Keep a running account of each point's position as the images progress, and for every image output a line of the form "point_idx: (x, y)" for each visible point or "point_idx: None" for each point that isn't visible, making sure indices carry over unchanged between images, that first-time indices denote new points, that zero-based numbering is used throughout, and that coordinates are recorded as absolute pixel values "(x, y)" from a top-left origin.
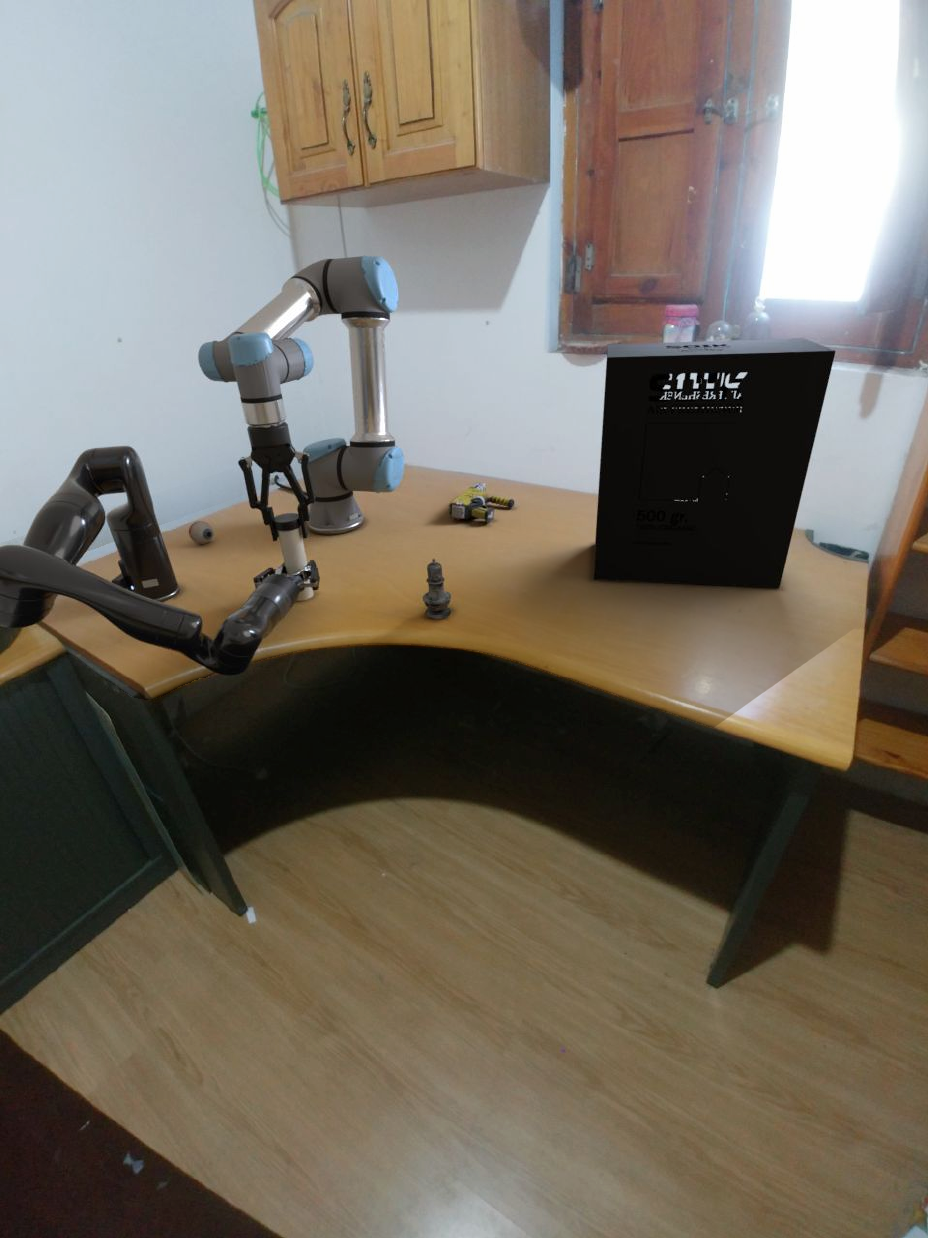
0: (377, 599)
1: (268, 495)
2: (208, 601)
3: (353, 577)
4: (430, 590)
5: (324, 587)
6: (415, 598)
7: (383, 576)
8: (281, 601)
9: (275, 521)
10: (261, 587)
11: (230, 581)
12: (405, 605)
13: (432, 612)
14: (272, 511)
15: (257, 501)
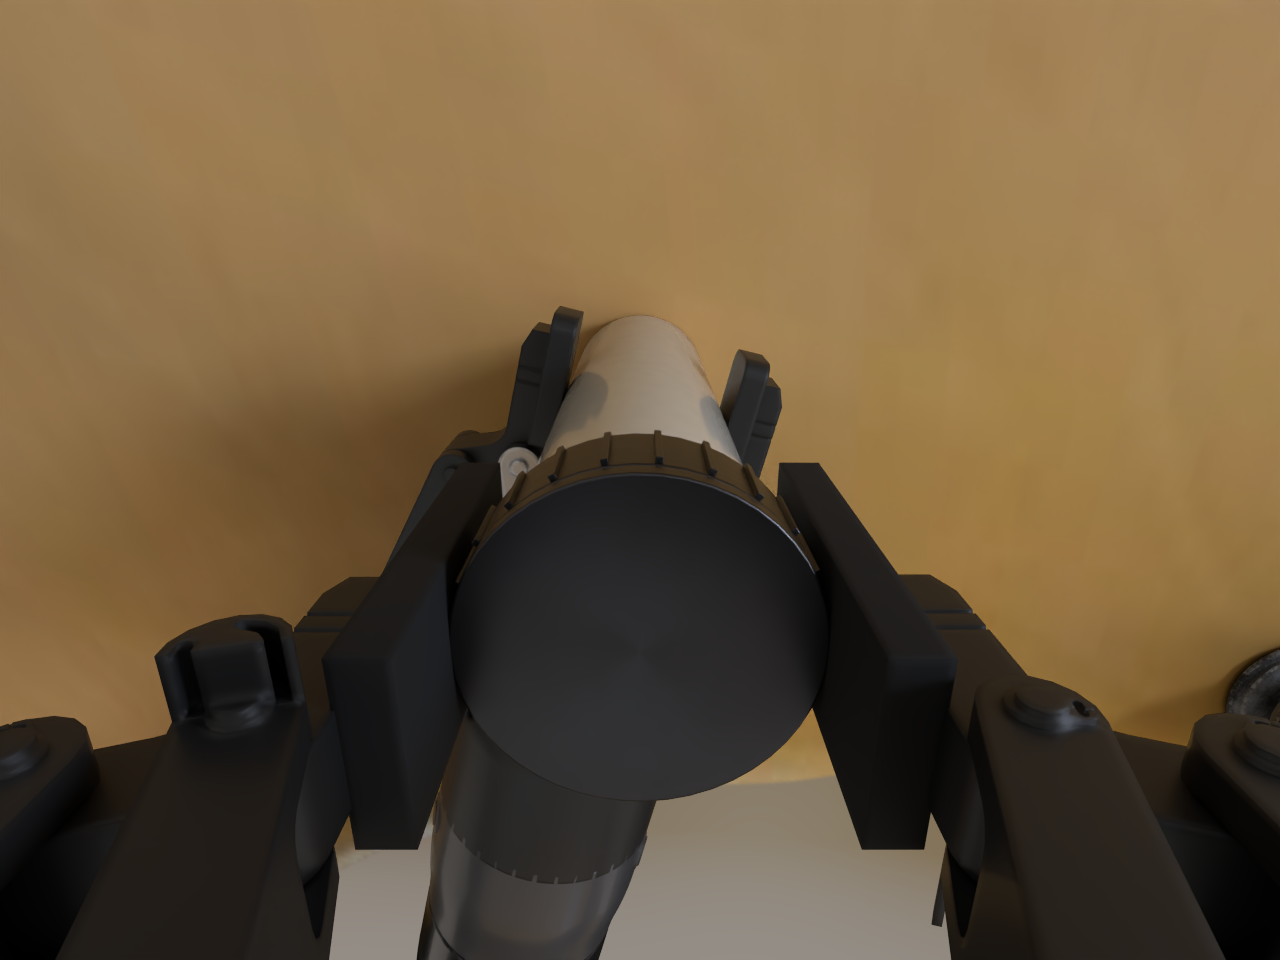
0: (1044, 508)
1: (269, 880)
2: (75, 322)
3: (953, 180)
4: None
5: (762, 291)
6: (1236, 538)
7: (1146, 214)
8: (619, 904)
9: (506, 750)
10: (504, 919)
11: (83, 27)
12: (1164, 596)
13: (1265, 715)
14: (419, 671)
15: (82, 873)
